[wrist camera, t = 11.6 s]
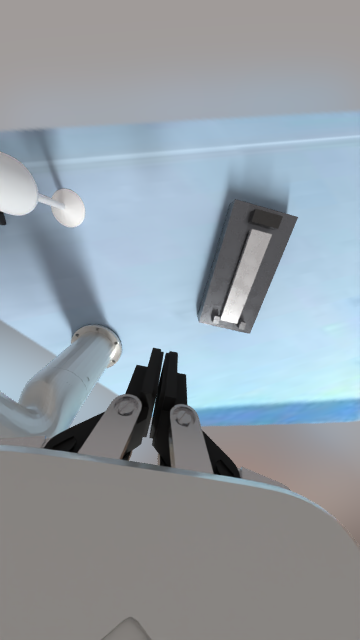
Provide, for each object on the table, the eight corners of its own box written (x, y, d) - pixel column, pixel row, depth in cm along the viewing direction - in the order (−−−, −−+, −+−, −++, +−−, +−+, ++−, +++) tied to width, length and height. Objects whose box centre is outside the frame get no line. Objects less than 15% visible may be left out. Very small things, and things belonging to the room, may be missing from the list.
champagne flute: (66, 179, 34) (-157, 39, 11) (92, 212, 36) (-56, 148, 13) (43, 204, 35) (-195, 122, 13) (69, 234, 37) (-98, 209, 15)
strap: (235, 322, 40) (237, 323, 39) (219, 318, 39) (220, 320, 38) (269, 234, 33) (272, 234, 32) (250, 229, 33) (252, 228, 32)
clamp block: (243, 326, 45) (252, 337, 39) (197, 316, 44) (199, 325, 38) (285, 220, 36) (304, 215, 31) (229, 204, 35) (238, 196, 30)
